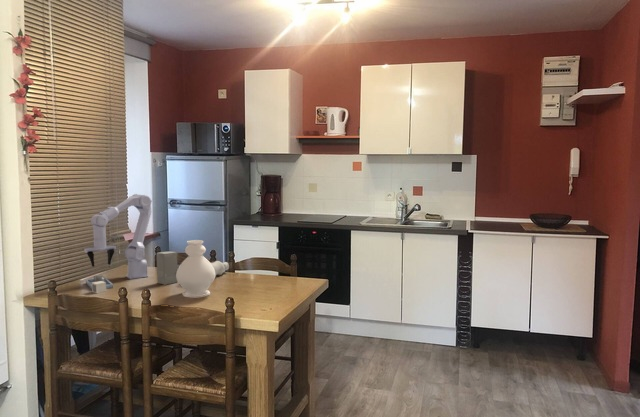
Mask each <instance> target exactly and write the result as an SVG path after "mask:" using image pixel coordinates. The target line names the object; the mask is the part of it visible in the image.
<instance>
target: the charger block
mask: <svg viewBox="0 0 640 417" xmlns="http://www.w3.org/2000/svg"><path fill="white" fill-rule="evenodd" d="M91 292H92V293H94V294H101V293H105V292H107V289H106V282H103V281H98V282H93V283H92V289H91Z"/></svg>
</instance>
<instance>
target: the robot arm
mask: <svg viewBox="0 0 640 417" xmlns="http://www.w3.org/2000/svg"><path fill="white" fill-rule="evenodd" d="M130 207H135V208H136V209H137V211H138V213H139V215H138V219H137V223H136V226H135V230H134V234H133V237H132V241H131V242H130V243H128V246H127V247H126V249H125V251H124V257H126V259H127V274H126V275H125V277H126V278H128V279H129V280H130V279H131V280H132V279H140V278H141V279H142V278H146V277H149V275H148V262H147V259H145V255H146V254H145V250H146V247H145V245H144V240H145V238H146V234H147V230H148V226H149V222H150V218H151V215H152V199H151V197H150V196H149V195H148V194H137V193H134V194H132V195H130V196H129V197H128V198H126V199H125V200H123V201H122V202H120V203H118V204H117V205H115V206H108V207H106V209H105V210H102V211H99V213H98V214H94V215H92V216H91V218H90V220H89V221H90V224H91V226H92V229H93V230H92V232H93V247H86V248H83V249H84V251H83V252H84V253H86V255H87V256H88V258H89V260H90V263H91V267H95V258H94V257H95V254H94V253H95V252H106V251H107V252H106V253H107V254H106V255H107V264H108V265H109V266H110V265H111V264H112V263H111V262H112V259H113V256H114V254H115V250H117V246H116V245H107V230H106V227H107V225H108V222H110V221H112V220H113V219H115V218H117V217H118V216H119V213H121V212H122V211H125V210H127V209H128V208H130Z"/></svg>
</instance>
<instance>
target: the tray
mask: <svg viewBox="0 0 640 417" xmlns="http://www.w3.org/2000/svg"><path fill="white" fill-rule="evenodd" d="M104 281H105V282H106V290H107V289H109V290H110V289H113V288H114V283H112V282H111V281H110V280H109V279H108V278H106V277H104ZM93 282H94V278H89V279H85V284H86V285H87V286H88V287H89V288H90V289H91V290H92V283H93Z"/></svg>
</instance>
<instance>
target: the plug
mask: <svg viewBox="0 0 640 417" xmlns="http://www.w3.org/2000/svg"><path fill="white" fill-rule="evenodd" d="M104 278H105V276H104V275H103V274H101V275H93V279H94V282H98V281H103V282H105V281H104Z"/></svg>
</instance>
